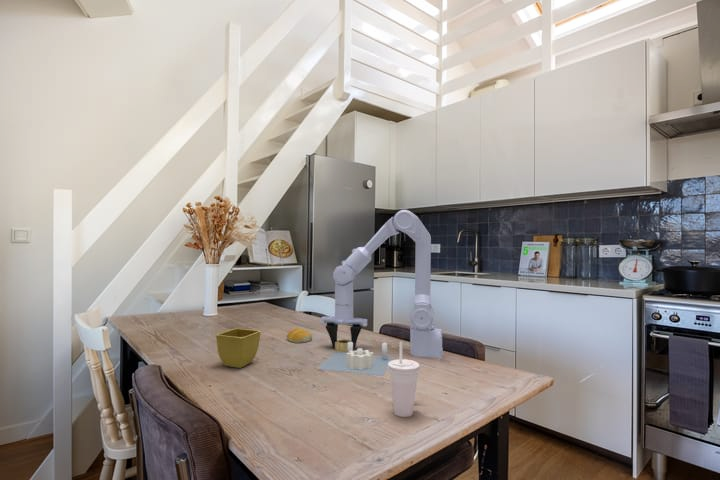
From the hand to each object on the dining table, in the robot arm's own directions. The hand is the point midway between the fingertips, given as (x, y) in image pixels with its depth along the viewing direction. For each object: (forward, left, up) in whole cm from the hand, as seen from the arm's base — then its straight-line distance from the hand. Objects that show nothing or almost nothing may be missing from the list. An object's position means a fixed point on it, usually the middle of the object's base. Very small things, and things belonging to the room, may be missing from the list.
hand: (343, 348), depth 116 cm
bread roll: (+20, -10, -2) cm, 23 cm away
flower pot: (+24, +20, -2) cm, 31 cm away
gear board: (-8, +12, -1) cm, 14 cm away
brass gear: (0, 0, -1) cm, 1 cm away
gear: (-10, +14, 0) cm, 17 cm away
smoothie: (-25, +36, -2) cm, 44 cm away
